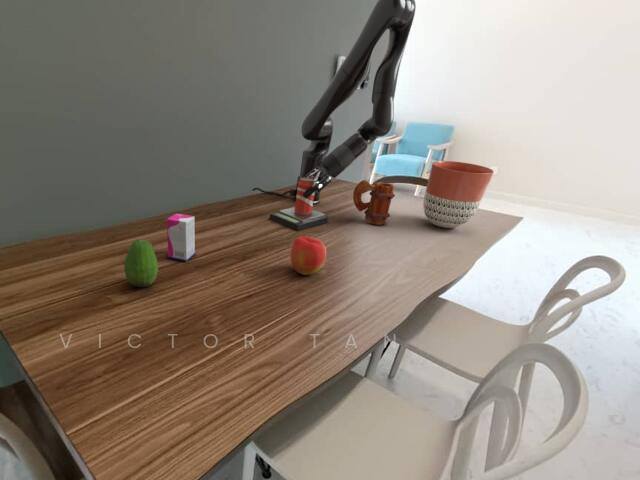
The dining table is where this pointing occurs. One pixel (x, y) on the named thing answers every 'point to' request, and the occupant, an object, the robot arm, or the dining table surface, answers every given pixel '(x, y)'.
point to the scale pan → (300, 217)
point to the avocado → (141, 264)
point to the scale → (296, 221)
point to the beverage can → (302, 203)
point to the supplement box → (181, 237)
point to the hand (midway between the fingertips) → (301, 193)
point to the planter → (454, 192)
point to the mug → (374, 201)
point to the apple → (307, 255)
